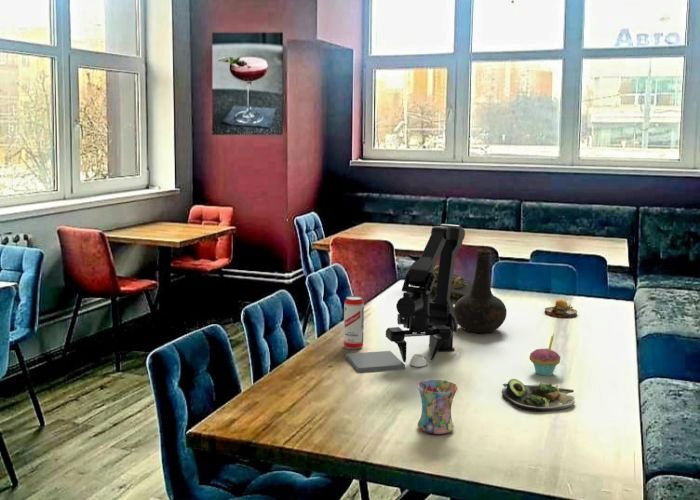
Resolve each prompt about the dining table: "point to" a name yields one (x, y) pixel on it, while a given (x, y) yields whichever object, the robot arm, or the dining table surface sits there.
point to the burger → (561, 310)
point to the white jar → (418, 360)
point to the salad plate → (536, 396)
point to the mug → (436, 405)
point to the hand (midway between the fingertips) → (417, 361)
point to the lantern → (453, 284)
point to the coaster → (375, 361)
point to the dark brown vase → (480, 301)
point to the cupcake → (545, 360)
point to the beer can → (353, 322)
